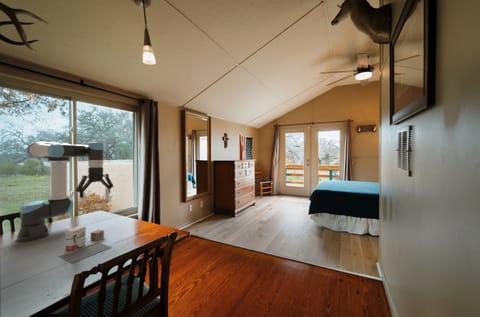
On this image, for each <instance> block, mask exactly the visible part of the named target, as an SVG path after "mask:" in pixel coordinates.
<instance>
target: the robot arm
mask: <svg viewBox="0 0 480 317" xmlns="http://www.w3.org/2000/svg"><path fill="white" fill-rule="evenodd" d="M26 151H27V154H28V155H29V156H31V157H33V158H36V159H45V160H46V159H47V161H48V162H49V163H50V196H49V197H48V199H47V201H45V200H35V201H30V202H27V203H25V204H23V205H21V207H20V212H19V214H20V228H19V230H18V233H17V236H16V241H18V242H29V241H35V240H39V239H42V238H44V237H47V236H48V235H49V234H50V230H49V227H48V226H47V224H46V220H47V219H51V218H56V217H61V216H64V215H68V214H70V213H71V212H72V210H73V209H74V202H73V199H72V198H70V195H68V187H67V186H68V185H67V184H68V181H67V180H68V179H67V178H68V174H67V173H68V171H67V170H68V165H67V164H68V163H69V162H70V160H71V159H72V158H88V160H87V161H88V163H87V165H88V168H87V170H88V171H87V172H88V174H87V175H82V176H81V180H80V182H79V184H78V185H77V187H76V189H75V192H77V193H79V198H80V200H81V201H80V203H81V204H86V192H85V191H86V190H87V189H88V188H89V186H90V185H91V184H92V183H96V182H98V183H99V182H100V183H101V184H102V185H103V186H104V187H105V189H104V190H105V197H104V198H105V199H106V200H109V199H110V194H111V189H112V188H114V184H113V182H112V180H111V178H110V177H109V174H108V173H104V167H103V166H104V143H103V142H101V141H100V142H99V141H89V142H88V144H70V143H66V142H50V141H39V142H38V141H37V142H33V143H30V144H29V145H28V146H27V148H26ZM104 179H105V180H106V181H105V180H104Z"/></svg>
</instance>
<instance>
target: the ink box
mask: <svg viewBox="0 0 480 317" xmlns="http://www.w3.org/2000/svg"><path fill="white" fill-rule="evenodd" d="M84 246H86V226H85V225H84V226H83V225H78V226H74V227H72V228H69V229H66V230H65V251H69V252H70V251H73V250H76V249H78V248H81V247H84Z"/></svg>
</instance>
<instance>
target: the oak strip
mask: <svg viewBox="0 0 480 317" xmlns="http://www.w3.org/2000/svg"><path fill="white" fill-rule="evenodd" d="M97 243H98V241H95V242H93V243H89V244H87V245H84V246H81V247H79V248H77V249H75V250H73V251H70V250H69V251H68V252H65V253H62V254H61V255H62V256H63V255H66V254H69V253H72V252H74V251H77V250H80V249H83V248H85V247H88V246H91V245H94V244H97Z"/></svg>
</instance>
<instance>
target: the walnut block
mask: <svg viewBox="0 0 480 317" xmlns="http://www.w3.org/2000/svg"><path fill="white" fill-rule="evenodd" d="M104 236H105V232H104V230H103V229H102V230H101V229H96V230H94V231H91V232H90V240H91V241H95V242H98V241H99V239H100V240H101V239H103V238H104Z"/></svg>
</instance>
